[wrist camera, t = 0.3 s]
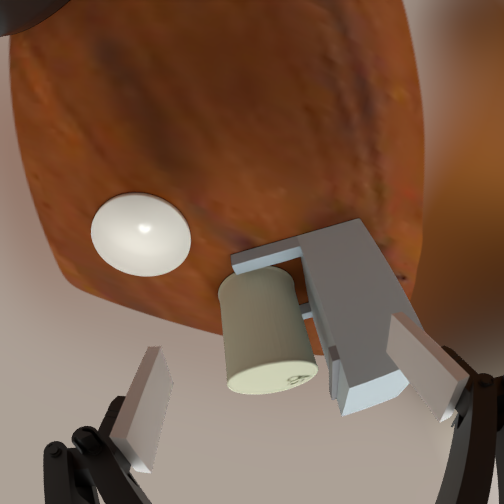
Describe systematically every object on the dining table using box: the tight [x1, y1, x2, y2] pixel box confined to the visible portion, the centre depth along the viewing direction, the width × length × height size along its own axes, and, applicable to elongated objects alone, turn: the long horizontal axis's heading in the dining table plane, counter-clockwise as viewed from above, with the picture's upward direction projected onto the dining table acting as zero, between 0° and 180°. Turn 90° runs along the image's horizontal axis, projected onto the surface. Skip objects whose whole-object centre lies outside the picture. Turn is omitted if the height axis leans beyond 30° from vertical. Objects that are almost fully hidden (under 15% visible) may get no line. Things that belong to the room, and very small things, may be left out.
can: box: [218, 266, 318, 394], centre depth 29 cm, size 9×9×12 cm
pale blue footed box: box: [231, 218, 424, 416], centre depth 27 cm, size 14×14×16 cm
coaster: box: [91, 193, 191, 276], centre depth 25 cm, size 10×10×1 cm
